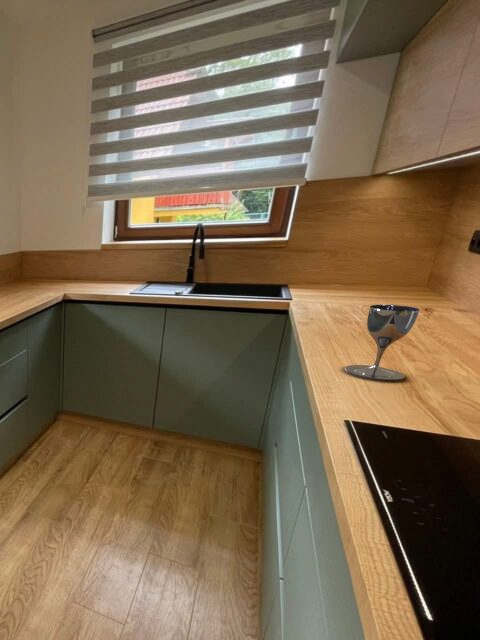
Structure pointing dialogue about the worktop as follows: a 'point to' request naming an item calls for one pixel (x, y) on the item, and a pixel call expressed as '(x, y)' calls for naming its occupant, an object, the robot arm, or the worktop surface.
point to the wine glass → (387, 331)
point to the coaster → (395, 378)
